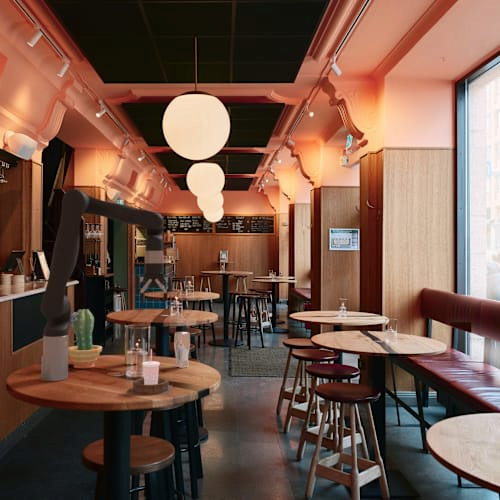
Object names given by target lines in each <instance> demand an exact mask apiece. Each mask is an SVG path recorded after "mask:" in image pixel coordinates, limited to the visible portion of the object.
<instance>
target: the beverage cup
mask: <svg viewBox="0 0 500 500" xmlns="http://www.w3.org/2000/svg"><path fill="white" fill-rule="evenodd" d="M160 364H161V363H160V361H154V360H153V349H152V348H150V360H149V361H144V362H143V363H142V367H143V378H144V385H154V384H158V377H159V371H160Z"/></svg>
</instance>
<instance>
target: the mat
mask: <svg viewBox="0 0 500 500" xmlns="http://www.w3.org/2000/svg"><path fill="white" fill-rule="evenodd" d="M172 387H173V384H172V385H170V384H169V387H168V390H167V391H165V392H162V393H157V394H156V395H170V392H171V389H172ZM128 395H141V394H140V393H136V392H134V389H133V387H132V388H131V390H130V391H129V393H128Z"/></svg>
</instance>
